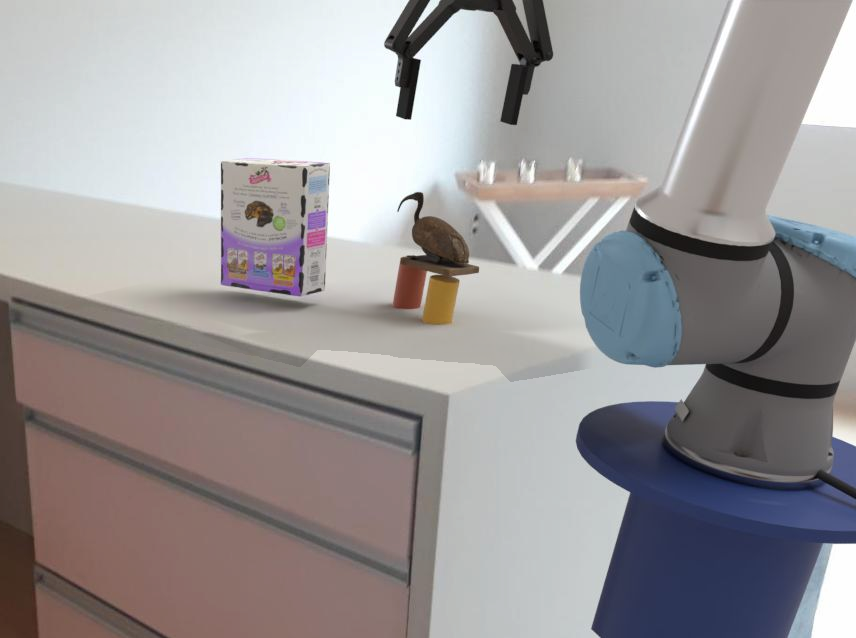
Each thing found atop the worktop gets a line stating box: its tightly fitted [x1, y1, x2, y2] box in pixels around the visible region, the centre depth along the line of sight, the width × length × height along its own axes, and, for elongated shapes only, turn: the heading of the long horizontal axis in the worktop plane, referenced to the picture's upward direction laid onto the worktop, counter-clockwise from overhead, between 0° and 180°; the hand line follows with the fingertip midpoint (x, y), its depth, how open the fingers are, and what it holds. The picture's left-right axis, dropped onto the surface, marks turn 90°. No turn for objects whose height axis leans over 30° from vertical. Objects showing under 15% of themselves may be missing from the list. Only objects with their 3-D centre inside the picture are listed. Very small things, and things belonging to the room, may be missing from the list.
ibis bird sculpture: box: [396, 191, 480, 277], centre depth 143 cm, size 14×4×9 cm, turn 25°
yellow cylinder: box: [421, 274, 461, 325], centre depth 142 cm, size 4×4×7 cm
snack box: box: [220, 157, 331, 297], centre depth 151 cm, size 14×6×16 cm, turn 47°
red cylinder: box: [391, 255, 428, 310], centre depth 150 cm, size 4×4×7 cm
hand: (456, 121), depth 137 cm, fingers open, 13 cm apart
